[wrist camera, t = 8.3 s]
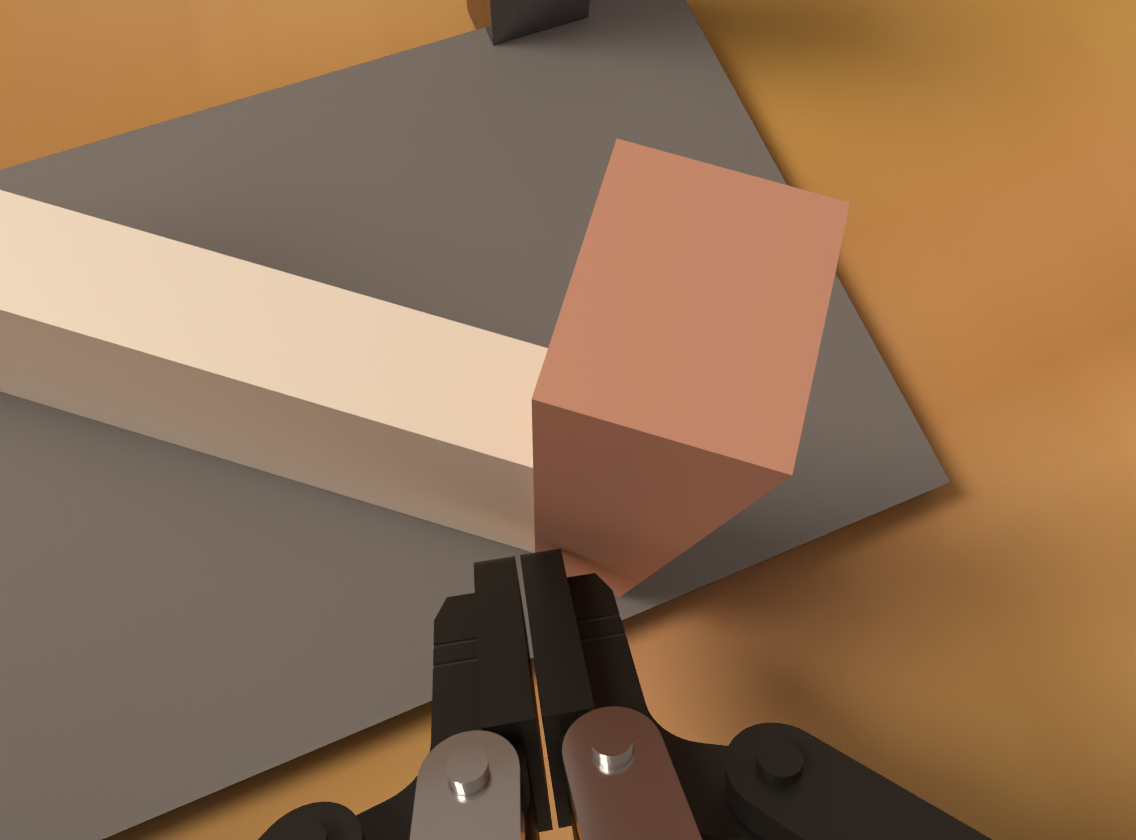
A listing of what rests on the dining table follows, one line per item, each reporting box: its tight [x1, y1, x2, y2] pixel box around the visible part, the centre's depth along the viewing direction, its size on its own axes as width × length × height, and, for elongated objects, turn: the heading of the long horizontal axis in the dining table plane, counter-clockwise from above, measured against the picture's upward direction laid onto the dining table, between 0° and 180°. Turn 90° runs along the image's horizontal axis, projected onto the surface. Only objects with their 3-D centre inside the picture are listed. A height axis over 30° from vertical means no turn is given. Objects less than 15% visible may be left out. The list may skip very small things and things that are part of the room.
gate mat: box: [0, 0, 950, 840], centre depth 20 cm, size 27×17×1 cm, turn 112°
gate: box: [0, 139, 850, 597], centre depth 12 cm, size 19×2×12 cm, turn 73°
